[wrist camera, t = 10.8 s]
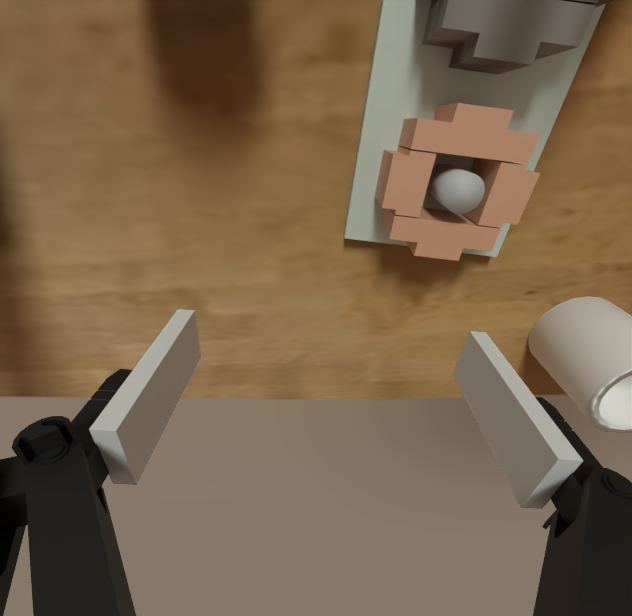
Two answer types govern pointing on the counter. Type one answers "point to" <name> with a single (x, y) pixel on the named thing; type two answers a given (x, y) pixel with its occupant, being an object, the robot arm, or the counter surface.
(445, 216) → the gear
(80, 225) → the counter surface
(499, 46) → the gear
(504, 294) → the counter surface
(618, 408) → the mug
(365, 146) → the board
